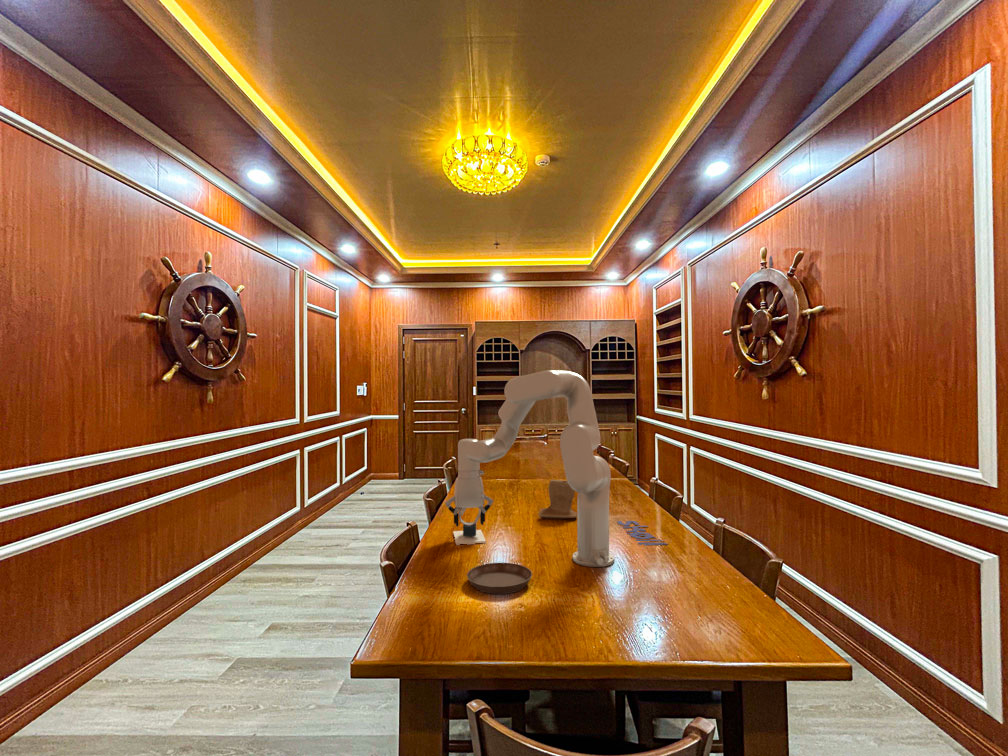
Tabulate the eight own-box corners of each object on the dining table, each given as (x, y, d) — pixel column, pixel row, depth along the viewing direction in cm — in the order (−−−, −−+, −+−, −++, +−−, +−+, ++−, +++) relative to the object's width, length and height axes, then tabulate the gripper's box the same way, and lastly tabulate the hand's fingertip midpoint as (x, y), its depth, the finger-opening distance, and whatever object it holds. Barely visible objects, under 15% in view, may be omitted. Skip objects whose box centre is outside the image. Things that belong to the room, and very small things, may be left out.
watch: (458, 531, 179) (458, 500, 179) (481, 531, 179) (480, 499, 179) (457, 536, 173) (457, 504, 173) (480, 535, 173) (480, 503, 173)
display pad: (485, 543, 171) (485, 540, 171) (456, 545, 169) (456, 542, 169) (480, 531, 183) (480, 529, 183) (453, 533, 182) (453, 531, 182)
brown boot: (576, 513, 208) (575, 477, 208) (577, 521, 196) (577, 483, 197) (539, 513, 210) (539, 476, 210) (538, 520, 198) (538, 482, 198)
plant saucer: (459, 577, 142) (459, 566, 142) (517, 568, 148) (517, 558, 148) (478, 603, 126) (478, 590, 126) (543, 591, 132) (543, 580, 132)
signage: (615, 520, 196) (640, 520, 196) (615, 522, 196) (640, 522, 196) (638, 544, 168) (668, 543, 168) (638, 546, 168) (668, 545, 168)
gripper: (492, 471, 181) (492, 520, 181) (443, 473, 178) (443, 523, 178) (495, 475, 174) (495, 526, 174) (444, 477, 171) (445, 529, 171)
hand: (469, 524), depth 176 cm, fingers closed on watch, 8 cm apart
